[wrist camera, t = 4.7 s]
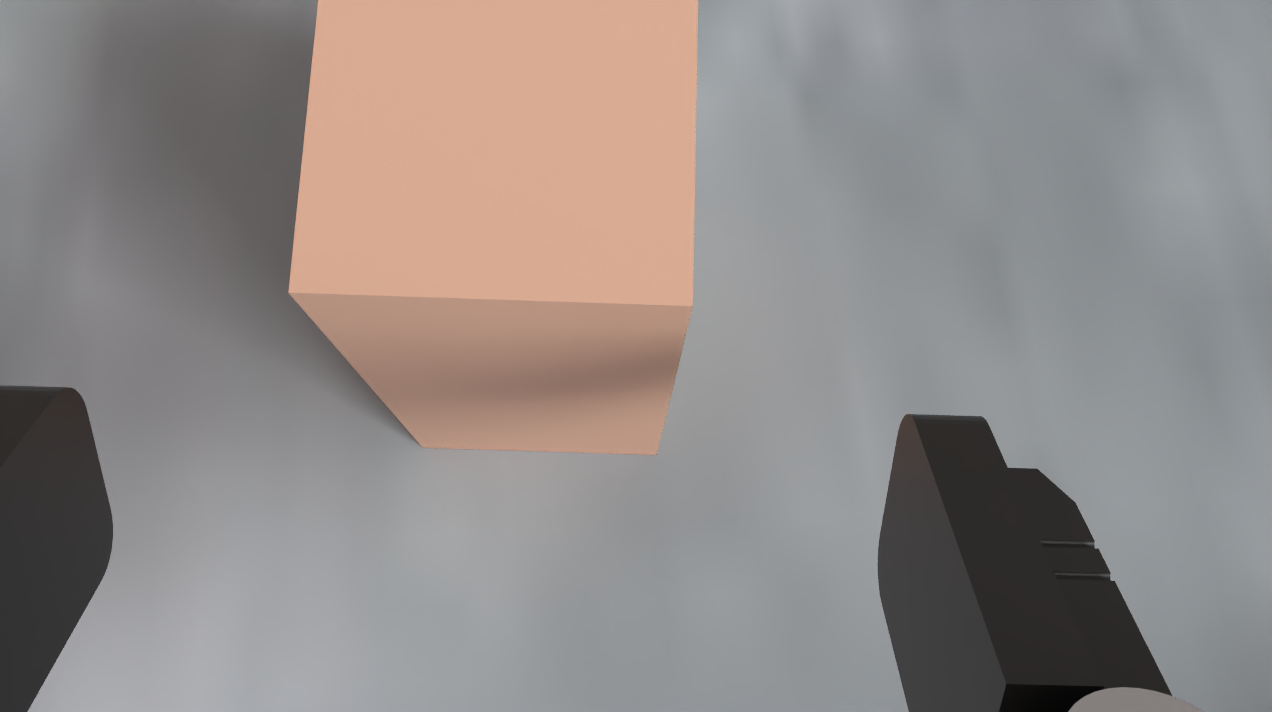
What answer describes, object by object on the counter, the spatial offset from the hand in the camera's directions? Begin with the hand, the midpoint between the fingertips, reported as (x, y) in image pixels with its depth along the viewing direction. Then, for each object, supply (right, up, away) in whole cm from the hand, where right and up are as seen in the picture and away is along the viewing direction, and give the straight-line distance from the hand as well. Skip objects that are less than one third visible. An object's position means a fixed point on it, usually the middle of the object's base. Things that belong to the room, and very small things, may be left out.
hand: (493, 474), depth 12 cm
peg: (0, +2, +9) cm, 9 cm away
